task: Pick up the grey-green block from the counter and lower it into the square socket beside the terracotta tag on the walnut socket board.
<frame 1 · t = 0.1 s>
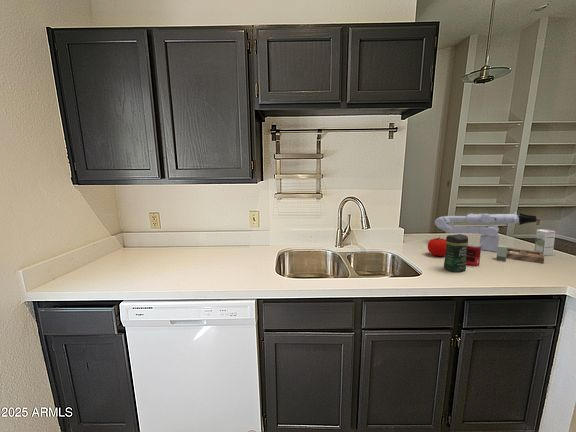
hand: (536, 218, 142), 22 cm above the worktop, tool horizontal, fingers open, 7 cm apart
tomato: (437, 255, 151), on the worktop
grey-green block: (501, 259, 139), on the worktop
canned food: (470, 264, 135), on the worktop
socket board: (522, 257, 142), on the worktop
syrup box: (543, 254, 147), on the worktop
coffee jar: (454, 270, 127), on the worktop
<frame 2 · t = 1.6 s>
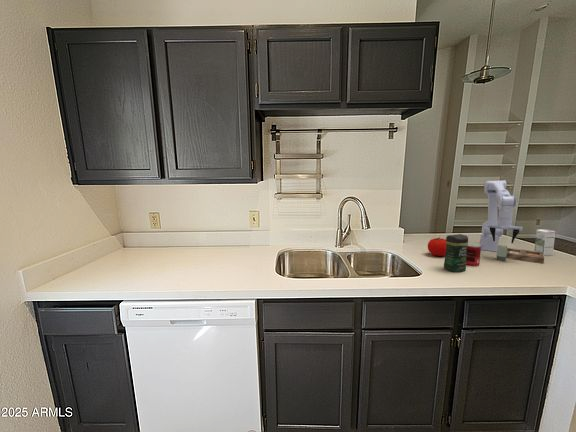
hand: (502, 241, 138), 10 cm above the worktop, tool pointing down, fingers open, 7 cm apart
nothing on the worktop moved.
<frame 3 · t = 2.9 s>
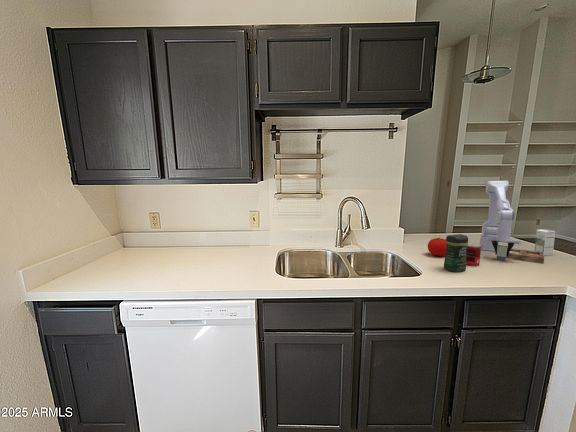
hand: (501, 254, 139), 3 cm above the worktop, tool pointing down, fingers closed on grey-green block, 4 cm apart
grey-green block: (501, 259, 139), on the worktop, touching gripper
everything else where it was.
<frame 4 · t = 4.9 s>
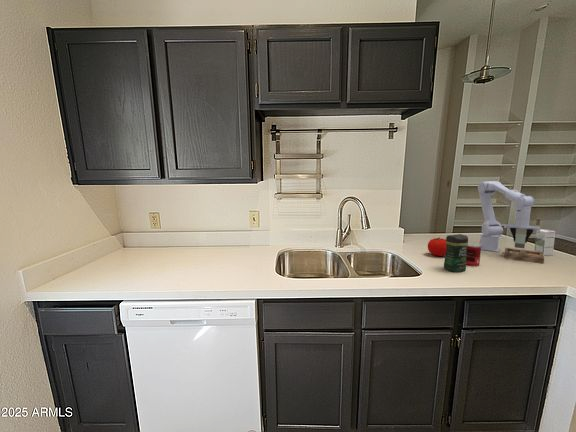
hand: (520, 241, 138), 10 cm above the worktop, tool pointing down, fingers closed on grey-green block, 4 cm apart
grey-green block: (519, 247, 139), point 7 cm above the worktop, touching gripper
everything else where it was.
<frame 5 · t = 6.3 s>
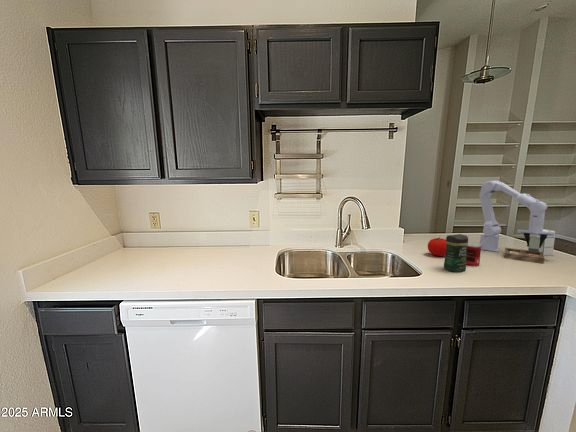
hand: (533, 246, 139), 6 cm above the worktop, tool pointing down, fingers closed on grey-green block, 4 cm apart
grey-green block: (533, 252, 140), point 3 cm above the worktop, touching gripper
everything else where it was.
when the fingers open (4 cm above the worktop, at t = 7.2 s): grey-green block drops 1 cm, resting in socket board.
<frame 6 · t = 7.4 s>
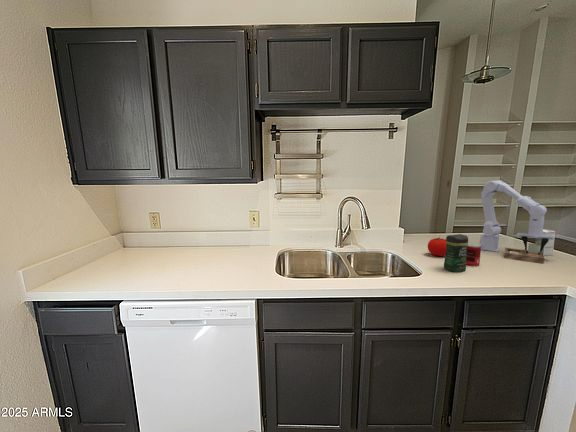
hand: (533, 250, 140), 4 cm above the worktop, tool pointing down, fingers open, 5 cm apart
grey-green block: (532, 258, 140), resting in socket board
everything else where it was.
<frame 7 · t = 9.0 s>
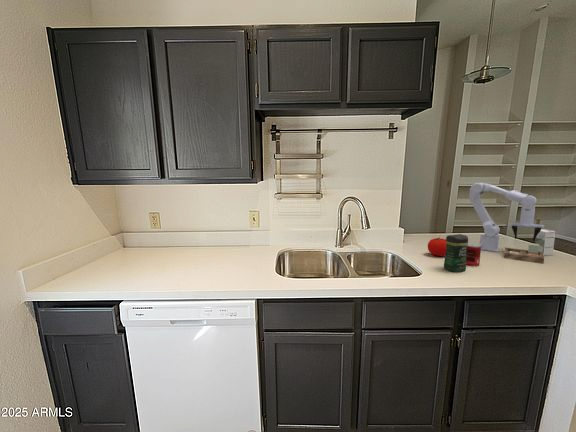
hand: (524, 239, 145), 9 cm above the worktop, tool pointing down, fingers open, 7 cm apart
nothing on the worktop moved.
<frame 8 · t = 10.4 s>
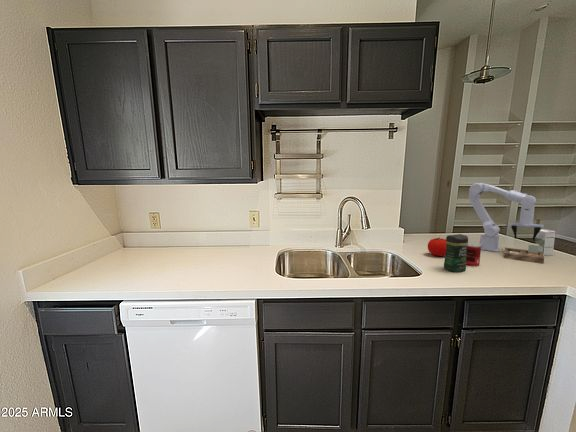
hand: (524, 239, 145), 9 cm above the worktop, tool pointing down, fingers open, 7 cm apart
nothing on the worktop moved.
at the end: grey-green block 0.1 cm from the target spot on the socket board, point 0.0 cm above the socket board's base; grey-green block tilted 0°; the gripper is holding nothing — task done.
